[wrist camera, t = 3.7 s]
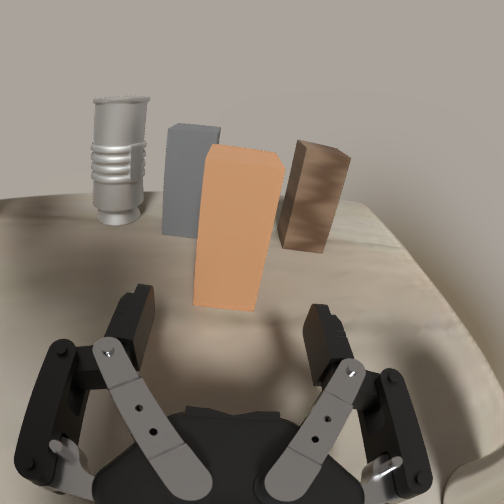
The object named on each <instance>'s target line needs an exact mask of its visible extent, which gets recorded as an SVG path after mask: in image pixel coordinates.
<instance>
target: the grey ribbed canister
mask: <svg viewBox="0 0 504 504" xmlns="http://www.w3.org/2000/svg"><path fill="white" fill-rule="evenodd" d="M149 101H150V97H143V96H142V97H141V96H123V97H104V98H95V99H93V103H94V104H95V116H94V143H92V145H91V150H92V151H93V153H92V154H91V160H92V161H93V162H92V164H91V169H92V170H93V171H92V173H91V178H92V179H93V180H94V185H93V204H94V206H95V207H96V208H98V209H100V210H99V213H98V216H97V219H98V221H100V222H101V223H103V224H106V225H116V226H117V225H125V224H129V223H132V222H134V221H136V220H137V219H138V218H139V217H140V215H141V213H140V210H139V208H138V206H139V205H140V204H141V203H142V202H143V201H144V193H143V176H144V175H145V169H144V166H145V160H144V157H145V156H146V152H145V150H144V148H145V147H146V141H145V140H144V134H145V122H146V111H147V102H149Z"/></svg>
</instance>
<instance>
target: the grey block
mask: <svg viewBox="0 0 504 504" xmlns="http://www.w3.org/2000/svg"><path fill="white" fill-rule="evenodd" d="M220 130H221V128H220V127H213V126H204V125H193V124H181V123H178V124H176V125H174V126H172V127H170V128H169V129H168V135H167V147H166V159H165V173H164V191H163V217H162V234H164V235H173V236H181V237H189V238H198V226H199V215H200V205H201V195H202V185H203V176H204V167H205V159H206V156H207V154H208V152H209V150H210V148H211V146H212V144H219V137H220Z"/></svg>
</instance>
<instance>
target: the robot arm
mask: <svg viewBox="0 0 504 504" xmlns="http://www.w3.org/2000/svg"><path fill="white" fill-rule="evenodd" d="M154 314H155V304H154V289H153V286H151V285H144V284H138V285H137V287H136V290H135V292H134V293H128V292H127V293H126V294H125V295H124V296H123V297H122V298H121V299H120V301H119V303H118V305H117V308H116V310H115V312H114V314H113V317H112V319H111V321H110V324H109V326H108V328H107V331H106V333H105V336H104V337H103V338H101V339H99V340H97V341H96V342H95V344H94V345H92V346H82V347H75V345H74V343H73V342H72V341H70V340H67V339H59V340H57V341H55V342H53V343H52V344H51V346H50V348H49V350H48V352H47V355H46V357H45V360H44V362H43V365H42V367H41V370H40V372H39V375H38V378H37V380H36V383H35V386H34V389H33V391H32V394H31V397H30V400H29V403H28V407H27V410H26V413H25V416H24V420H23V423H22V427H21V430H20V434H19V438H18V442H17V446H16V450H15V455H14V464H15V467H16V470H17V471H18V473H19V474H20V475H21V476H23V477H24V478H26V479H28V480H29V481H31V482H32V483H34V484H35V485H37V486H39V487H41V488H43V489H46V490H48V491H51V492H54V493H56V494H59V495H63V494H69V495H72V496H75V497H78V498H81V499H84V500H88V501H91V502H94V503H95V504H398V503H400V502H403V501H405V500H408V499H410V498H413V497H415V496H418V495H420V494H422V493H424V492H426V491H427V490H428V489H429V488H430V487H431V485H432V481H433V476H432V472H431V468H430V463H429V459H428V456H427V452H426V448H425V444H424V441H423V437H422V434H421V430H420V427H419V424H418V420H417V417H416V414H415V411H414V408H413V405H412V402H411V399H410V396H409V393H408V390H407V387H406V384H405V381H404V378H403V376H402V375H401V374H400V373H399V372H398V371H397V370H395V369H392V368H387V369H384V370H383V371H382V372H381V374H379V373H375V372H371V371H367V370H365V368H364V366H363V364H362V363H360V362H359V361H358V360H355V359H354V356H353V353H352V350H351V348H350V345H349V342H348V339H347V337H346V334H345V331H344V328H343V325H342V323H341V321H340V320H339V319H338V318H337V316H336V315H331V313H330V310H329V307H328V305H324V304H312V305H311V308H310V310H309V313H308V315H307V318H306V320H305V323H304V326H303V338H304V343H305V347H306V352H307V356H308V361H309V366H310V370H311V375H312V380H313V385H314V386H321V387H322V391H321V393H320V394H319V396H318V398H317V399H316V401H315V402H314V404H313V405H312V407H311V409H310V410H309V412H308V413H307V415H306V416H305V418H304V419H303V420H302V422H301V423H300V424H299V426H298V425H296V424H294V423H293V422H291V421H289V420H286V419H283V418H280V413H279V412H260V411H257V412H252V413H246V414H241V415H229V414H226V413H222V412H219V411H216V410H213V409H209V408H199V407H191V406H186V412H180V413H175V414H172V415H170V416H168V417H166V416H165V414H164V412H163V411H162V409H161V408H160V406H159V405H158V403H157V402H156V400H155V398H154V397H153V395H152V393H151V392H150V390H149V389H148V387H147V385H146V383H145V382H144V380H143V379H142V377H139V376H138V374H137V372H136V371H140V368H141V364H142V360H143V356H144V352H145V349H146V345H147V341H148V338H149V334H150V331H151V327H152V324H153V320H154ZM92 389H108V391H109V393H110V395H111V397H112V399H113V401H114V403H115V405H116V407H117V409H118V411H119V413H120V415H121V417H122V419H123V420H124V422H125V424H126V426H127V428H128V430H129V432H130V433H131V435H132V437H133V439H134V440H135V443H133V444H132V445H131V446H130V447H129V448H127V449H126V450H125V451H124V452H122V453H121V454H120V455H119V456H117V457H116V458H115V459H114V460H112V461H111V462H110V463H108V464H107V465H106V466H105V467H103V468H102V469H101V470H100V471H99V472H98V473H97V474H96V475H95V477H94V476H92V475H91V473H90V472H89V469H88V461H87V457H86V455H85V453H84V452H83V451H82V450H81V449H80V448H79V447H78V442H79V437H80V432H81V427H82V422H83V417H84V413H85V408H86V404H87V400H88V396H89V392H90V390H92ZM352 409H357V412H358V417H359V422H360V427H361V432H362V437H363V442H364V448H365V453H366V459H367V465H366V466H365V467H364V468H363V470H362V475H361V482H359V481H358V480H357V479H356V478H355V477H354V476H352V475H351V474H350V473H349V472H348V471H347V470H346V469H344V468H343V467H342V466H341V465H340V464H339V463H338V462H337V461H335V460H334V459H333V458H332V457H331V456H330V455H329V454H328V453H329V451H330V450H331V448H332V446H333V445H334V443H335V441H336V439H337V437H338V436H339V434H340V432H341V430H342V428H343V426H344V424H345V422H346V420H347V418H348V417H349V415H350V413H351V411H352Z"/></svg>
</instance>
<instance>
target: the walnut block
mask: <svg viewBox="0 0 504 504" xmlns="http://www.w3.org/2000/svg"><path fill="white" fill-rule="evenodd" d="M350 160H351V158H350V157H349V156H347V155H346V154H344V153H343V152H341V151H340V150H338V149H337V148H333V147H328V146H324V145H320V144H315V143H311V142H306V141H301V140H297V144H296V149H295V153H294V158H293V163H292V167H291V172H290V176H289V181H288V185H287V190H286V194H285V198H284V203H283V207H282V212H281V216H280V220H279V225H278V233H279V237H280V240H281V244H282V248H283V249H290V250H298V251H306V252H314V253H323V250H324V247H325V244H326V241H327V238H328V235H329V232H330V229H331V225H332V222H333V219H334V216H335V212H336V209H337V206H338V203H339V199H340V196H341V192H342V189H343V185H344V182H345V178H346V175H347V171H348V167H349V164H350Z"/></svg>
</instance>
